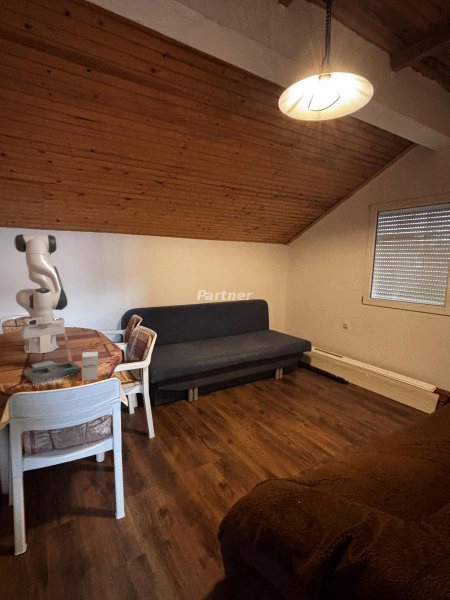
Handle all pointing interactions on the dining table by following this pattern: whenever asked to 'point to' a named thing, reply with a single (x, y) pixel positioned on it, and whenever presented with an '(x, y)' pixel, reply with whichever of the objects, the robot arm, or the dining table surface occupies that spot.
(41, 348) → the peg
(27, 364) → the dining table surface
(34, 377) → the rack plate
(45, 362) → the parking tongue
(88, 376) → the supplement box
